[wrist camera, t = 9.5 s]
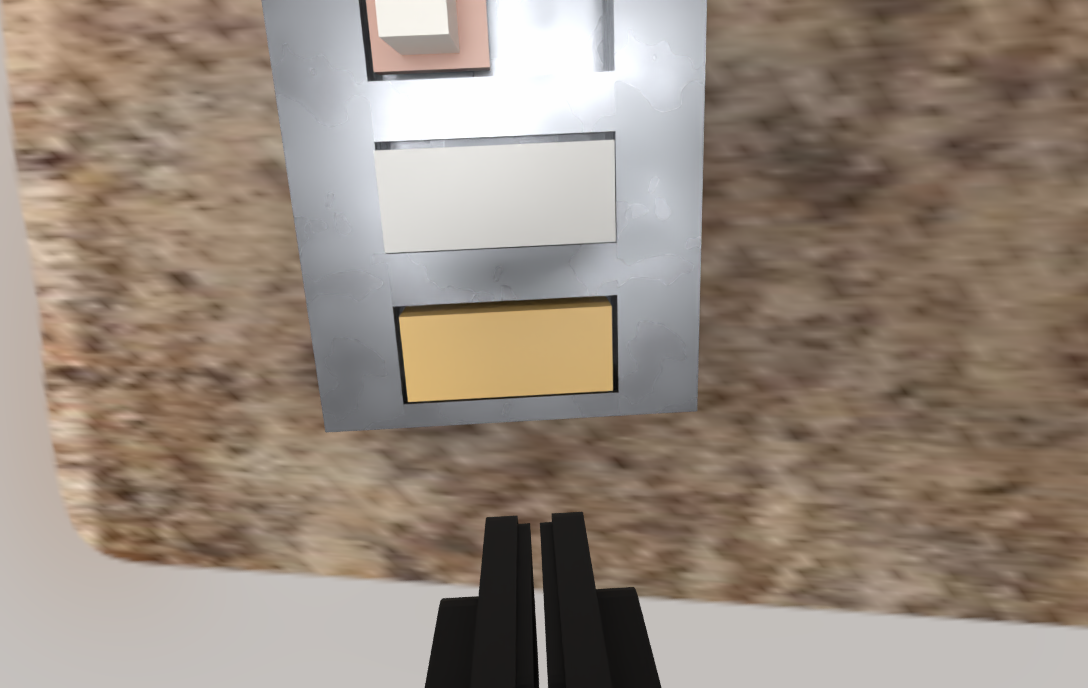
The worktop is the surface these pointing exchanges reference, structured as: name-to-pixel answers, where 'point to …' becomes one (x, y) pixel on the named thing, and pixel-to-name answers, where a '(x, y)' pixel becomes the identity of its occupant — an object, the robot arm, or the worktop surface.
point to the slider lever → (428, 36)
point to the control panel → (498, 119)
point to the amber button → (507, 348)
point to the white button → (496, 195)
